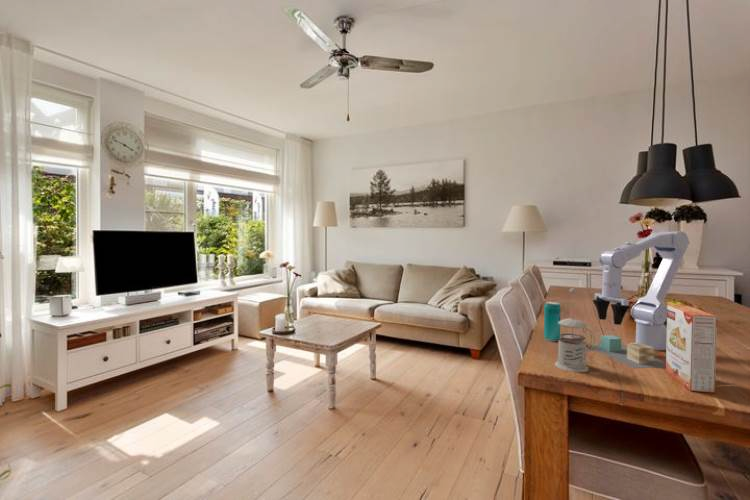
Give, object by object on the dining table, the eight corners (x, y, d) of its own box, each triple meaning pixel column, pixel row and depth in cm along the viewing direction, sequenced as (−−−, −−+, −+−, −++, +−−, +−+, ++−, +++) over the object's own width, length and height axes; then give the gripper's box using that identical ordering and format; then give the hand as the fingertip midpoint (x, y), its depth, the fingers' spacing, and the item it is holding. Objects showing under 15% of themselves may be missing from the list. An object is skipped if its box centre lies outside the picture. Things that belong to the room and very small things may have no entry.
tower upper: (641, 350, 123) (641, 343, 123) (653, 355, 118) (653, 347, 118) (627, 351, 123) (627, 343, 123) (639, 356, 118) (639, 348, 118)
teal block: (612, 347, 135) (612, 335, 135) (621, 351, 131) (621, 338, 130) (600, 347, 135) (600, 335, 134) (609, 351, 130) (609, 339, 130)
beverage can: (561, 342, 142) (562, 304, 141) (545, 341, 143) (546, 303, 143) (557, 338, 148) (558, 301, 147) (542, 337, 149) (542, 301, 148)
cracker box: (663, 372, 111) (666, 304, 111) (687, 374, 110) (690, 305, 109) (688, 391, 98) (691, 313, 97) (716, 394, 96) (719, 315, 95)
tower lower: (640, 357, 123) (641, 350, 123) (653, 363, 118) (653, 355, 118) (626, 358, 123) (627, 351, 123) (638, 363, 118) (639, 356, 118)
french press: (549, 360, 122) (550, 286, 121) (584, 361, 122) (586, 286, 120) (563, 372, 112) (564, 290, 111) (602, 372, 112) (603, 290, 111)
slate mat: (621, 345, 138) (621, 344, 138) (676, 367, 115) (676, 366, 115) (585, 346, 137) (585, 345, 137) (634, 369, 114) (634, 368, 114)
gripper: (587, 281, 139) (586, 317, 139) (615, 286, 124) (614, 326, 125) (605, 281, 139) (603, 317, 140) (635, 287, 125) (633, 326, 125)
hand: (609, 321), depth 132 cm, fingers open, 7 cm apart
